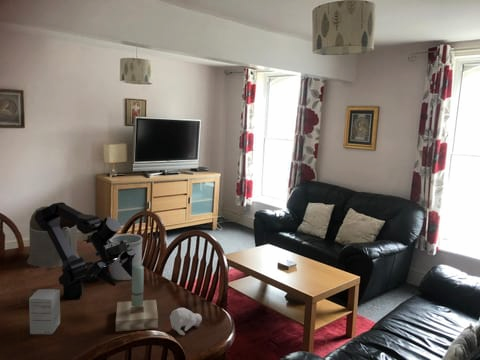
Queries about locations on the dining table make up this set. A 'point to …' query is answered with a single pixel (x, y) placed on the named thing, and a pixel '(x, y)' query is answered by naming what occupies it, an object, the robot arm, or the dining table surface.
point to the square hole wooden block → (136, 316)
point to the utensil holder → (134, 244)
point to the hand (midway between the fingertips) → (124, 281)
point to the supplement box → (44, 311)
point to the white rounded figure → (184, 319)
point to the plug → (137, 285)
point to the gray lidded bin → (49, 242)
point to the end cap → (88, 277)
